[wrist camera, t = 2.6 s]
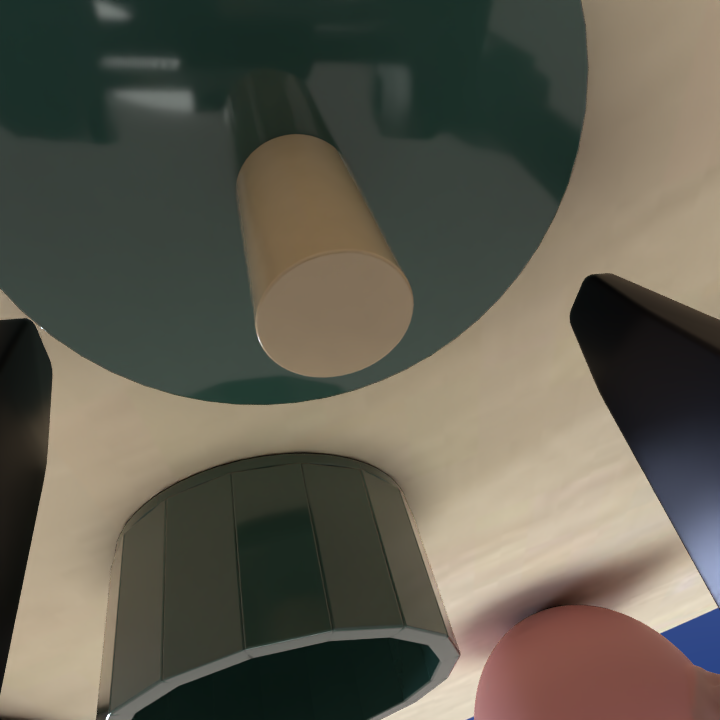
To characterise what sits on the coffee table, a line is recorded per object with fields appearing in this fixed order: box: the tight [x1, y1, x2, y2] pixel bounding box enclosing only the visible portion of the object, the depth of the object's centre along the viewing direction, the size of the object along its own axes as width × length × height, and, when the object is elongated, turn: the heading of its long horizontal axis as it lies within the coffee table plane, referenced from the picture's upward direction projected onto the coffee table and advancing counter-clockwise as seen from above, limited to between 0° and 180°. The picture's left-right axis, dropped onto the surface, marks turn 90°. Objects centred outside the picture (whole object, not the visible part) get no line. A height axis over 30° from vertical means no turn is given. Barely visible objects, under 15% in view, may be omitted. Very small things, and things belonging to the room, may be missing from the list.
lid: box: [0, 0, 588, 405], centre depth 11 cm, size 14×14×6 cm
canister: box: [96, 453, 460, 720], centre depth 22 cm, size 13×13×6 cm
